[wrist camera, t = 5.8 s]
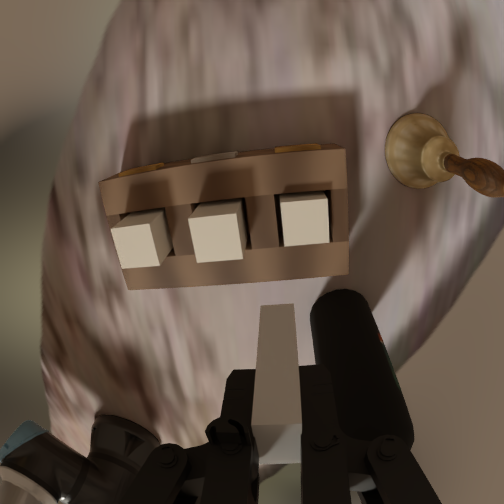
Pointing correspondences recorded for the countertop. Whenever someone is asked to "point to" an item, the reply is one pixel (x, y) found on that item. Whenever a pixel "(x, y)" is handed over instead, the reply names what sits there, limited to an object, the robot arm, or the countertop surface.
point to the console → (255, 208)
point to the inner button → (142, 238)
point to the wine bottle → (358, 368)
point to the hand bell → (435, 157)
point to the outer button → (304, 218)
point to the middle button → (219, 230)
